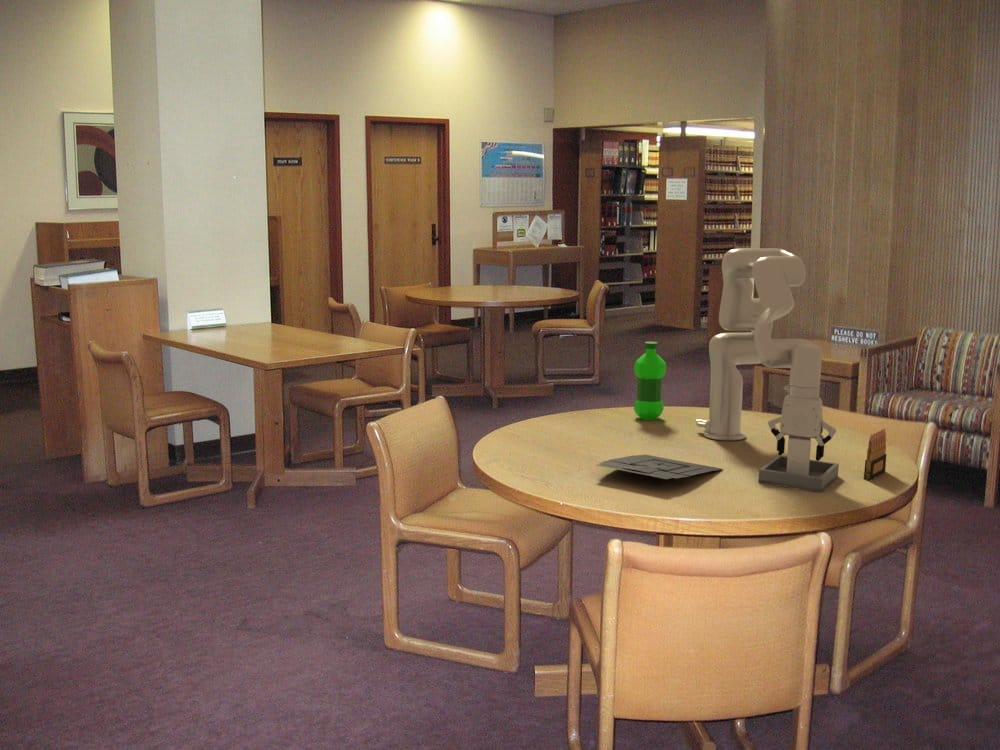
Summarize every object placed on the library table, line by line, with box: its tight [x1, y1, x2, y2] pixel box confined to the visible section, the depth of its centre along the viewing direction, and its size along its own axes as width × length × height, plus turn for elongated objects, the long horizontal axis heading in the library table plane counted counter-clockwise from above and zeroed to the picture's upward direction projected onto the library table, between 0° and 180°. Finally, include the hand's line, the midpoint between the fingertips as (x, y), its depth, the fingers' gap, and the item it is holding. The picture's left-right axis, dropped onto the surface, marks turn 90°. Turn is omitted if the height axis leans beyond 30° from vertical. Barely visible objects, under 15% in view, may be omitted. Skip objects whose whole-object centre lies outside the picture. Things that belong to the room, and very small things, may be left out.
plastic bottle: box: [633, 341, 667, 421], centre depth 336 cm, size 10×10×25 cm
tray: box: [758, 455, 840, 493], centre depth 269 cm, size 16×17×4 cm
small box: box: [786, 435, 812, 476], centre depth 269 cm, size 8×6×10 cm
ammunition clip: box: [863, 428, 887, 481], centre depth 273 cm, size 11×2×12 cm, turn 140°
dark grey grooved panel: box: [596, 454, 723, 480], centre depth 274 cm, size 24×30×4 cm
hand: (799, 456), depth 269 cm, fingers open, 9 cm apart
